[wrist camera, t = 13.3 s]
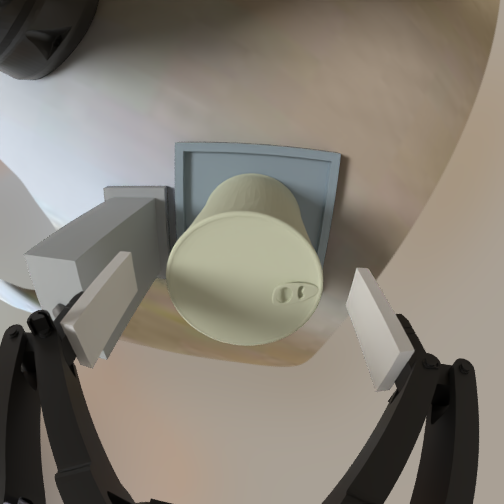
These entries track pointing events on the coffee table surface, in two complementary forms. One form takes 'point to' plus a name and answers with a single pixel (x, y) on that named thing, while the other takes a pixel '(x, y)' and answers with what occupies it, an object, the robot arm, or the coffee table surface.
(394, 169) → the coffee table surface
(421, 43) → the coffee table surface
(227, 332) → the can
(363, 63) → the coffee table surface
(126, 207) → the box
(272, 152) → the tray
